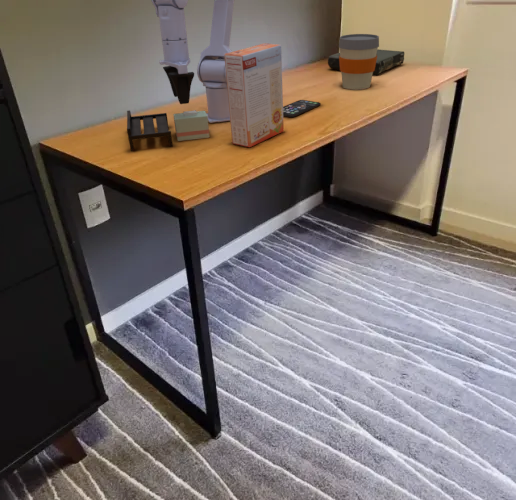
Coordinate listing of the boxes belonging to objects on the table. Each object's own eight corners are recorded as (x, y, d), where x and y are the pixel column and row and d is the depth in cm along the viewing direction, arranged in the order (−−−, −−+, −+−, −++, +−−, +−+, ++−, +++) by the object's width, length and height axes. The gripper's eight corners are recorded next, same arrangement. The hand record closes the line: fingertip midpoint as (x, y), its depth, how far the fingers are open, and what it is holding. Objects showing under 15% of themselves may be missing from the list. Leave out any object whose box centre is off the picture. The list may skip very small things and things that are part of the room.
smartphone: (321, 102, 143) (292, 115, 133) (321, 105, 143) (292, 117, 134) (300, 99, 147) (270, 111, 137) (300, 101, 147) (270, 114, 138)
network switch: (384, 76, 170) (386, 61, 167) (323, 71, 181) (324, 57, 178) (405, 63, 187) (407, 49, 184) (348, 59, 198) (349, 46, 195)
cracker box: (266, 128, 127) (262, 42, 116) (284, 132, 124) (283, 44, 113) (230, 143, 118) (223, 52, 107) (249, 148, 115) (243, 54, 104)
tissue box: (207, 131, 127) (204, 107, 124) (209, 137, 123) (207, 112, 120) (176, 135, 126) (172, 110, 123) (177, 141, 122) (174, 116, 118)
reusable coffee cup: (329, 86, 162) (330, 37, 154) (355, 79, 168) (358, 32, 160) (356, 93, 153) (360, 41, 145) (383, 85, 159) (388, 36, 151)
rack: (168, 126, 132) (165, 106, 129) (172, 146, 118) (169, 124, 115) (130, 131, 130) (126, 110, 128) (131, 151, 117) (126, 129, 114)
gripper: (152, 36, 116) (160, 94, 123) (161, 44, 104) (169, 108, 111) (182, 34, 118) (188, 91, 125) (194, 42, 106) (200, 105, 113)
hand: (181, 99), depth 118 cm, fingers open, 7 cm apart
